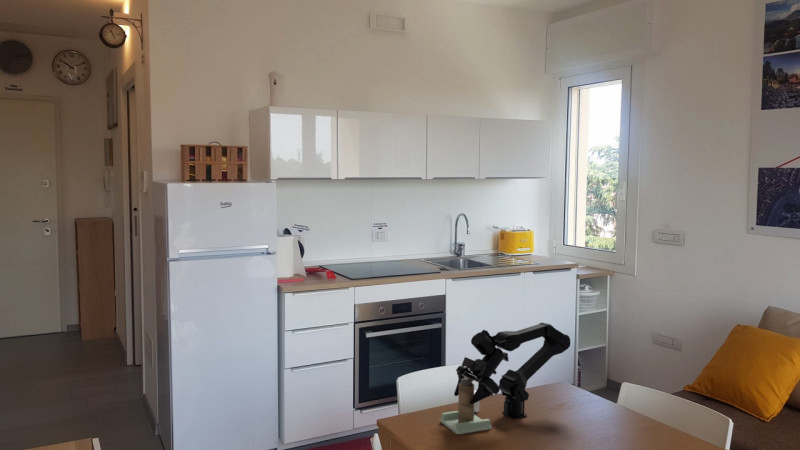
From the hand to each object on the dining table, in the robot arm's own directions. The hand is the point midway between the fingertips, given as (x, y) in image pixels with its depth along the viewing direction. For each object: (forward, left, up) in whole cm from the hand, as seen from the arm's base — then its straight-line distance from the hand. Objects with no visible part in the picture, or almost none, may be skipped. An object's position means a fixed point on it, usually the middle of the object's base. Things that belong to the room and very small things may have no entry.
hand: (462, 399), depth 206 cm
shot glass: (-10, -12, -9) cm, 19 cm away
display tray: (-1, 0, -9) cm, 9 cm away
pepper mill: (-2, 0, -8) cm, 8 cm away
